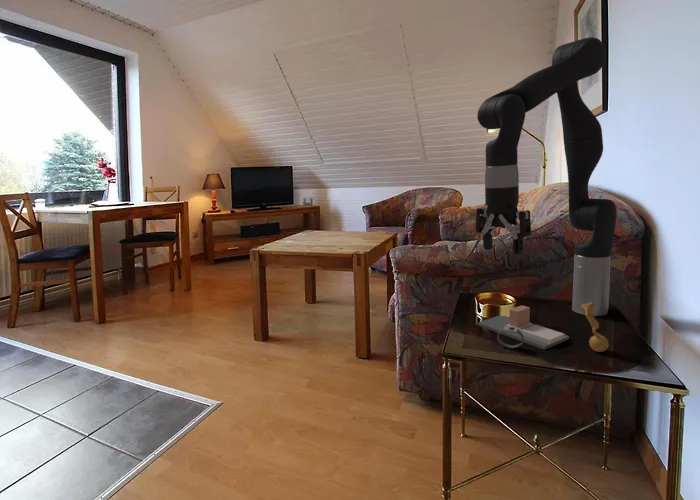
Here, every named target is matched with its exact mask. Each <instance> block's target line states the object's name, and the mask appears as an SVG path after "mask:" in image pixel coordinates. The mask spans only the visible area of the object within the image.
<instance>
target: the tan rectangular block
mask: <svg viewBox="0 0 700 500" xmlns="http://www.w3.org/2000/svg"><path fill="white" fill-rule="evenodd" d="M530 312H531V308H530V307H529V306H526V305H523V304H522V305H519V306H516V307H513V308H509V317H510V324H508V325H506V326H508V327H517V328H518V330H520V329H522V328H525V327H528V326H530V325H533V324H534V323H532V322H530V321H531V320H530V318H531V313H530ZM517 333H518V332H517Z"/></svg>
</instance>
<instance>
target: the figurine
mask: <svg viewBox="0 0 700 500" xmlns="http://www.w3.org/2000/svg"><path fill="white" fill-rule="evenodd" d="M594 306H595V305H594V303H593V302H590V303H588V304H583V305H582V306H581V309H582V311H583V313H584V314H585V315H584V316H585V318H587V320H588V322H589V323H590V325H591V326H590V327H591V328H592V330H591V333H592V334H593V336H590V339H589V341H588V343H589V344H588V345H589V347H590V348H591V349H592V350H593V351H594V352H597V353H603V352H605V351H606V350H607V349H608V348H609V340H608V339H607V337H606V336H604V335H602V334H601V333H599V332H598V331H597V330H598V329H599V328H600V325H599V324H600V323H599V321H597V320H596V317H597V316H595V314H594V313H593V307H594Z"/></svg>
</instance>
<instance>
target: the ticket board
mask: <svg viewBox="0 0 700 500" xmlns="http://www.w3.org/2000/svg"><path fill="white" fill-rule="evenodd" d="M508 324H510V316H507V315H504V316H499V315H497V316H494V317H491V318H488V319H485V320H482V321H479V322H477V326H479V327H481V328H484V329H486V330H487V329H488V330H490V331H493V332H495V333H499V331H500V330H501V329H502V328H504V327H505V326H506V325H508ZM532 324H533V325H530V326H528V327H525V328H522V329H520V331H521V333H522V334H523V336H524V342H523V343H525V344H528V345H530V346H533V347H535V348H539V349H542V350H544V351H545V350H547V349H550V348H552V347H555V346H557V345H559V344H561V343H563V342H566V341H568V340H570V336H569V335H567V334H566V333H563V332H560V331H557V330H554V329H551V328H549V327H548V328H547V327H544V326H541V325H538V324H534V323H532ZM500 335H503V336H506V337H509V338H512V339H514V340H517V341H520V342H522V338H521V336H520V334H519V333H517V334H516V333H508V332H503V331H502V332H501V333H500Z"/></svg>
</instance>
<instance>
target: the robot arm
mask: <svg viewBox="0 0 700 500" xmlns="http://www.w3.org/2000/svg"><path fill="white" fill-rule="evenodd" d="M551 57H552V58H551V65H550V66H548V67H545V68H542V69H540V70H538V71H536V72H534V73H532V74H529V76H526V77H525V78H524V79H522V80H521V81H519V82H517V83H516V84H515V85H513V86H512V87H509V88H507V89H505V90H503V91H500V92H498V93H496V94H493V95H492V96H489V97H488V98H486V99H485V100H484V101H483V102H482V103H481V104H480V106H479V108H478V111H477V117H476V118H477V121H478V123H479V125H480V126H481V127H482V128H484V129H485V130H498V129H499V131H498V135H497V137H496V138H495V139H491V140H490V141H488V142H487V143H486V146H485V172H484V199H485V201H484V203H485V206H487V207H480V208H479V207H478V208H477V209H476V211H475V212H476V213H475V217H476V219H475V231H476V232H477V233H480V234H481V235H482V246H483V249H484V250H486V251H490V250H492V249H493V234H492V232H493V231H494V230H495V228H501V229H506V230H507V232H509V233H510V234H511V236H512V237H513V239H512V255H516V256H518V255H521V253H522V252H523V251H524V239H525V238H526V237H529V236H531V235H532V223H531V222H532V221H531V211H530V210H529V209H526V210H519V209H518V204H519V202H520V195H519V194H520V192H519V191H520V189H519V188H520V185H519V184H520V183H519V182H520V180H519V179H520V178H519V177H520V176H519V175H520V174H519V173H520V172H519V169H518V168H519V167H518V164H519V163H518V146H519V142H520V138H521V135H522V130H523V126H524V123H525V120H526V113H528V112H530V111H532V110H533V109H535V108H536V107H537V106H540V105H541V104H543V102H545V101H546V100H547V99H549V98H551V97H552V96H554V95H555V94H556V96H557V99H558V105H559V110H560V118H561V125H562V137H563V138H562V139H563V146H564V154H565V160H566V170H567V171H566V172H567V179H568V181H567V184H568V217H569V222H570V225H571V226H572V227H573V228H574V229H576V230H579V231H585V232H586V231H588V232H592V236H591V239H589V240H587V241H582V242H579V243H576V244H575V246H574V257H573V280H572V283H573V284H572V303H571V310H572V311H573V312H574V313H577V314H580V315H584V316H586V315H585V314H584V313H583V311H582V309H581V306H582V305H583V304H588V303H590V302H593V303H594V305H595V306H594V307H593V313H594V314H595V316H596V317H599V316H600V317H601V316H604V315H607V314H608V311H609V303H610V301H609V300H610V289H611V287H610V285H611V282H610V281H611V279H610V277H611V273H610V272H611V258H612V256H611V255H612V249H613V245H614V241H615V234H616V233H615V232H616V225H617V215H618V214H617V206H616V204H615V202H614V201H613V200H611V199H607V198H590V197H589V196H590V195H589V182H590V179H591V176H592V174H593V172H594V171H595V170H596V167H597V166H598V164H599V162H600V160H601V158H602V157H603V152H604V140H603V139H604V138H603V129H602V126H601V123H600V122H599V119H598V118H597V117H596V115H595V114H594V113H593V112H592V111H591V109H590V108H589V107H588V105H586V103H585V102H584V100H583V98H582V97H581V94H580V90H579V86H578V82H579V81H581V80H584V79H586V78H588V77H591V76H593V75H595V74H597V73H598V72H599V71H600V70H602V67H604V63H605V61H606V48H605V45H604V43H603V42H602V40H601V39H599V38H597V37H592V36H591V37H585V38H580V39H578V40H575V41H571V42H568V43H565V44H561V45H559V46H558V47H556V48H555V49H554V51H553V53H552V56H551ZM487 218H488V219H487Z"/></svg>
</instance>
